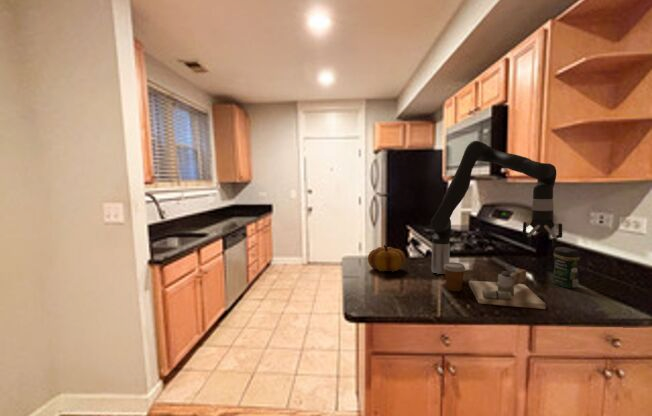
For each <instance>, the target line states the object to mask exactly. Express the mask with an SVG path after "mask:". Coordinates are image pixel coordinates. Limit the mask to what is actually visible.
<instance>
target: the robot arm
mask: <svg viewBox="0 0 652 416" xmlns="http://www.w3.org/2000/svg"><path fill="white" fill-rule="evenodd" d="M463 152H464V153H463V155H462V157H461V160H460V163H459V165H458V168H457V169H456V171H455V173H454V176H453V178H452V179H451V181H450V183H449V185H448V187H447V189H446V192H445V194H444V196H443V199H442V201H441V204H440V205H439V207H438V209H437V210H436V212H435V214H434V215H433V217H432V218H431V220H430V226H431V229H432V230H433V236H432V238H431V239H432V240H431V273H432V272H433V273H437V274H436V275H438V274H445V269H444V265H445V263H449V262H450V257H451V256H450V248H451V247H450V246H451V238H452V237H451V234H452V219H451V218H452V215H453V213H454V211H455V209H456V208H457V207H458V206H459V204H460V203H461V202H462V201H463V199H464V198H465V196H466V194H467V192H468V190H469V189H470V185H471V180H472V179H471V178H472V172H473V169H474V167H475V165H476V163H477V162H486V163H491V164H496V165H498V166H501V167H503V168H505V169H508V170H512V171H514V172H516V173H520V174H524V175H525V176H527V177H530V178H532V179H535V180H537V182H536V185H535V186H534V187H533V191H532V192H533V193H532V204H531V221H530V222H529V221H523V223H522V235H523V236H525V237H526V238H527V239H526V243H527V245H529V246H532V235H533V234H534V233H536V232H537V233H543V234H544V233H545V234H546V233H549V235H550V236H551V237H552V238H551V241H552V243H551V244H552V245H551V246H552V248H555V247H557V242H558V241H557V240H558V239H561V238H563V223H560V222H559V223H554V186H555V183H556V180H557V169H556V166H555V165H554V164H552V163H547V162H546V163H543V162H540V161H535V160H532V159H531V158H529V157H526V156H522V155H519V154H514V153H509V152H503V151H500V150H497V149H495V148H493V147H491V146H489V145H488V144H486V143H484V142H482V141H479V140H473V141H470V143H469V144H468V145H467V146H466V147H465V150H464V151H463ZM528 227H531V228H532V229H531V230H530V231H529V232H527V228H528ZM554 227H555V229H558V234H556V233H554V231H553V228H554ZM433 273H432V274H433Z"/></svg>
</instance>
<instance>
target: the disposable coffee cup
mask: <svg viewBox="0 0 652 416" xmlns="http://www.w3.org/2000/svg"><path fill="white" fill-rule="evenodd" d="M444 269H445V275H444V276H445V283H446V289H447V290H448V289H449V290H448V291H450V290H451V291H450V292H455V291H458V292H461V291H462V288H463V287H462V286H463V280H464V274H465V270H466V267H465V265H464V264H463V263H460V262H450V261H449V263H445V265H444ZM460 290H461V291H460Z"/></svg>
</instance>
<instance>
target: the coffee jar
mask: <svg viewBox="0 0 652 416" xmlns="http://www.w3.org/2000/svg"><path fill="white" fill-rule="evenodd" d="M553 258H554V264H553V265H554V267H553V273H552V283H553V284H555V285H557V286H560V287H562V288H565V289H567V288H568V289H577V288H578V287H579V261H580V259H581V256H580V251H579V249H574V248H570V247H564V246H555V247H554V250H553Z"/></svg>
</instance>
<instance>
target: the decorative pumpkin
mask: <svg viewBox="0 0 652 416" xmlns="http://www.w3.org/2000/svg"><path fill="white" fill-rule="evenodd" d="M405 260H406V256H405V253H404V252H403V251H402V250H401V249H399V248H394V247H391V246H388V247H387V246H386V244H384V245H383V246H378V247H377V248H375V249H372V250H371V251H369V253H368V255H367V263H368V264H369V266H370V267H371V268H372V269H373V268H374V270H376V269H377V270H376V271H379V272H381V271H392V272H391V273H395V272H394V271H396V272H397V271H398V270H400V269H401V268H402V267H403V266H404V264H405V262H406V261H405Z"/></svg>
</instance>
